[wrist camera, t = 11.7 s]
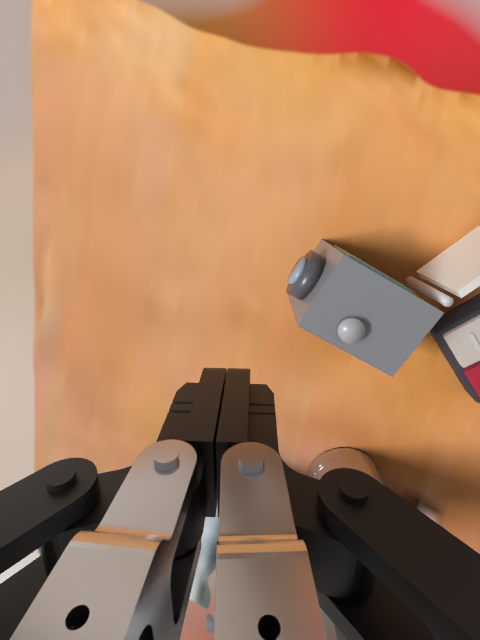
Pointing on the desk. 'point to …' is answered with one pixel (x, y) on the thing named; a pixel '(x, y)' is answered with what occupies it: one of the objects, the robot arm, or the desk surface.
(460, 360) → the calculator
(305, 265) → the camera body
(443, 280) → the side door
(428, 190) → the desk surface
